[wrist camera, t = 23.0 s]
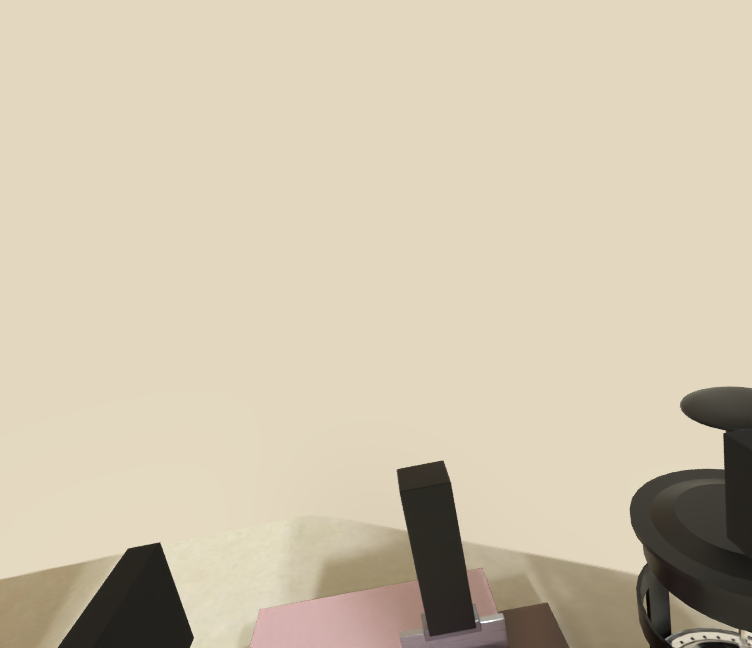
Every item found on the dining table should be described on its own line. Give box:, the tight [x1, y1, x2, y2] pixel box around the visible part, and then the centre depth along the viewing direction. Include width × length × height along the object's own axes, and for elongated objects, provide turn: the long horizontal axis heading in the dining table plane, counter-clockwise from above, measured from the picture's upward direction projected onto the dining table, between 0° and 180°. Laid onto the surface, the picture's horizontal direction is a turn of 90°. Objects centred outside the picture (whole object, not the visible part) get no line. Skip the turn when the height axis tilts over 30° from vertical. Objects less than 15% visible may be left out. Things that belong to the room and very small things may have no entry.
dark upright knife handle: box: [397, 461, 509, 648], centre depth 26 cm, size 6×2×19 cm, turn 92°
